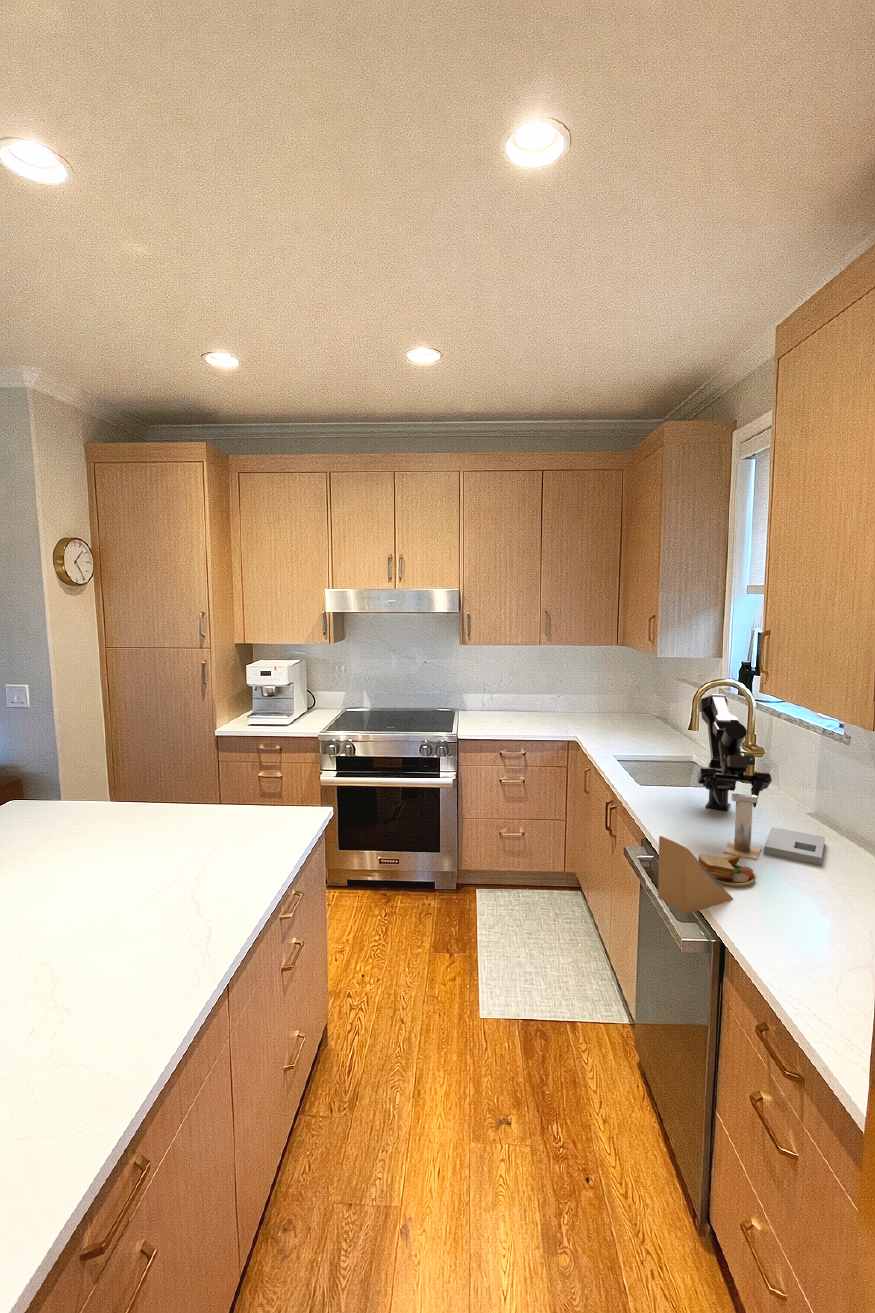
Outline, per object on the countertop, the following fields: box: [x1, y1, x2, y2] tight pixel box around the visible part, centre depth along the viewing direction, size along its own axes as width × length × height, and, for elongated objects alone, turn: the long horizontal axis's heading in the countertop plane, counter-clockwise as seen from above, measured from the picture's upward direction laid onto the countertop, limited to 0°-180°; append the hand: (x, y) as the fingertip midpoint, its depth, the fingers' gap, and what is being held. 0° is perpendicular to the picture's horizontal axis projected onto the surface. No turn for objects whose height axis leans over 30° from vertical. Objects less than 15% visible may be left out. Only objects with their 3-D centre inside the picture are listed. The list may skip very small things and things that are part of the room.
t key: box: [730, 793, 759, 852], centre depth 164 cm, size 4×6×15 cm, turn 75°
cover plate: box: [763, 826, 826, 866], centre depth 166 cm, size 16×13×2 cm
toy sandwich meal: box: [698, 853, 757, 888], centre depth 150 cm, size 12×14×5 cm
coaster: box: [723, 840, 762, 861], centre depth 164 cm, size 8×8×1 cm
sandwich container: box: [657, 835, 734, 915], centre depth 139 cm, size 9×15×15 cm, turn 115°
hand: (737, 805), depth 172 cm, fingers open, 9 cm apart
